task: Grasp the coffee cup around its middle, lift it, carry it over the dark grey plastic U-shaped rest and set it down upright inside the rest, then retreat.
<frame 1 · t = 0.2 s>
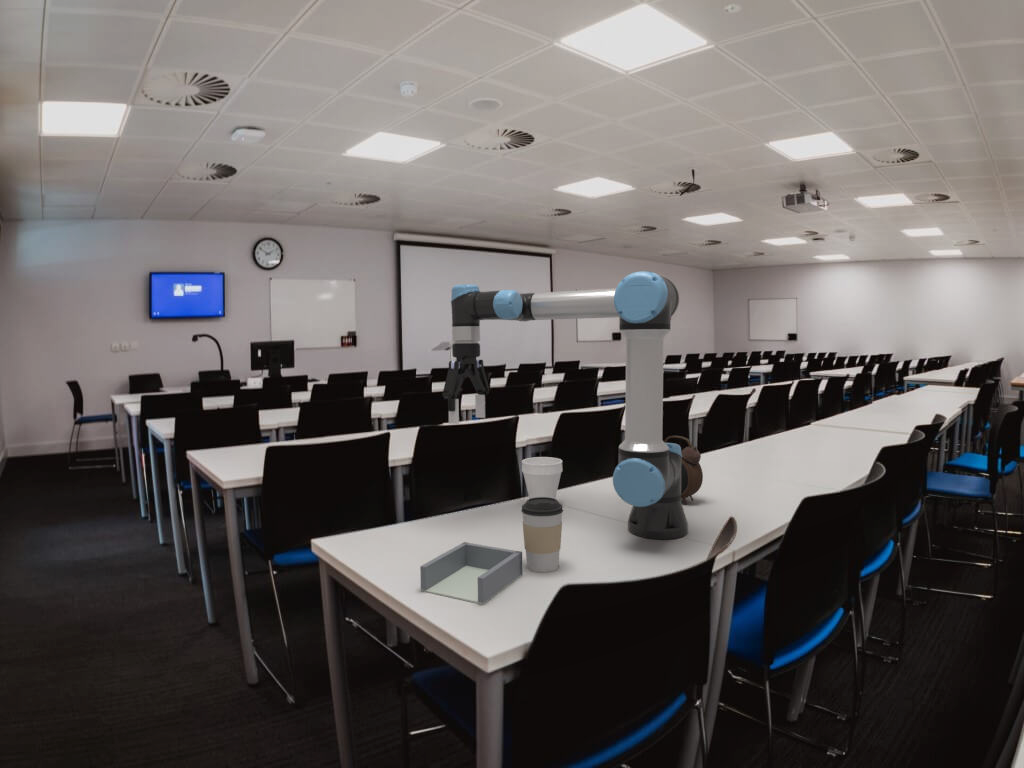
hand: (467, 420, 166), 28 cm above the table, fingers open, 13 cm apart
u rest: (471, 583, 124), on the table
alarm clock: (676, 501, 186), on the table
cup: (542, 506, 183), on the table
coffee cup: (542, 567, 133), on the table
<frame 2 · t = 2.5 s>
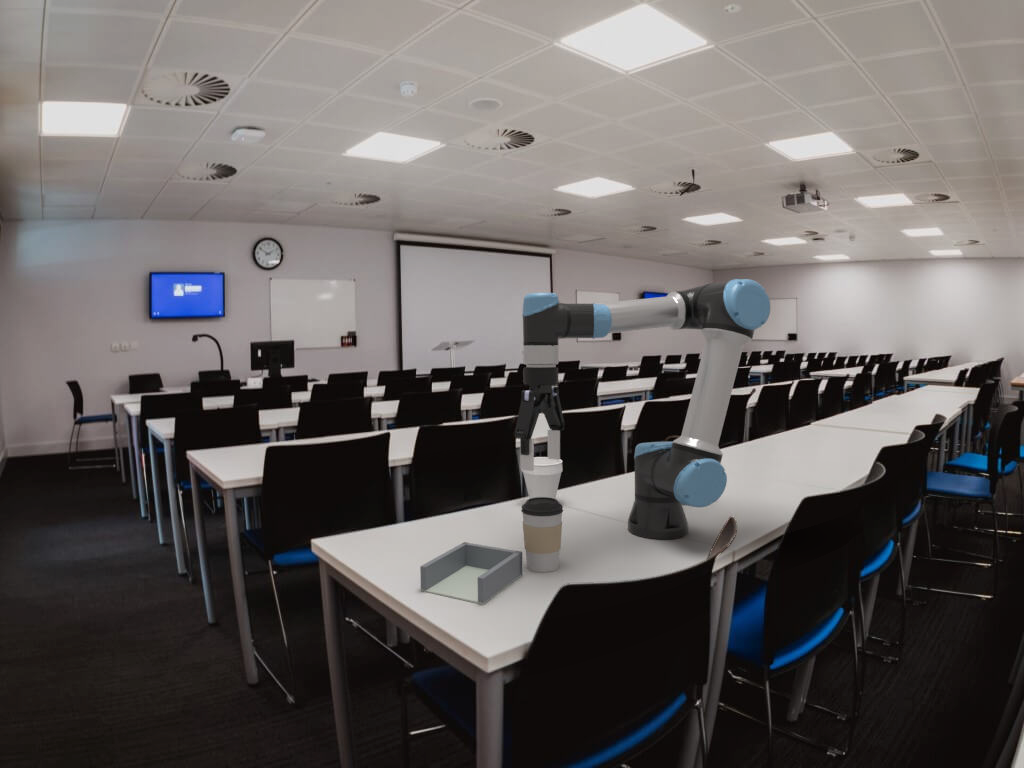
hand: (541, 464, 131), 23 cm above the table, fingers open, 13 cm apart
nothing on the table moved.
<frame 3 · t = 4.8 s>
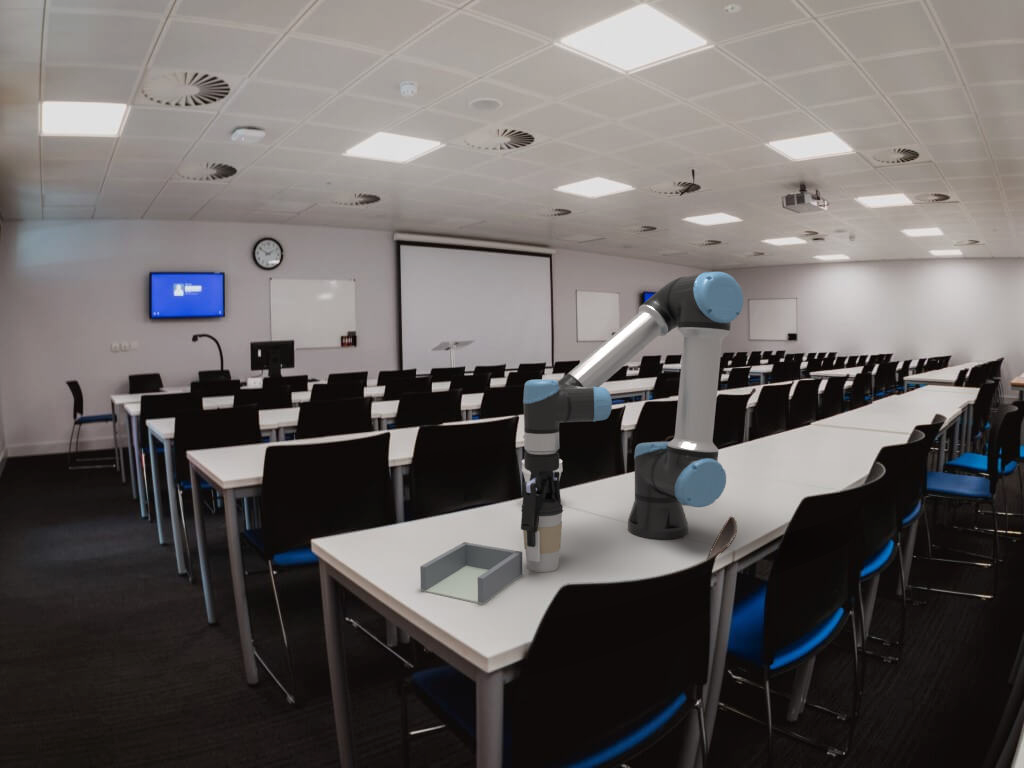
hand: (542, 553, 133), 3 cm above the table, fingers closed on coffee cup, 9 cm apart
coffee cup: (542, 567, 133), on the table, touching gripper
everything else where it was.
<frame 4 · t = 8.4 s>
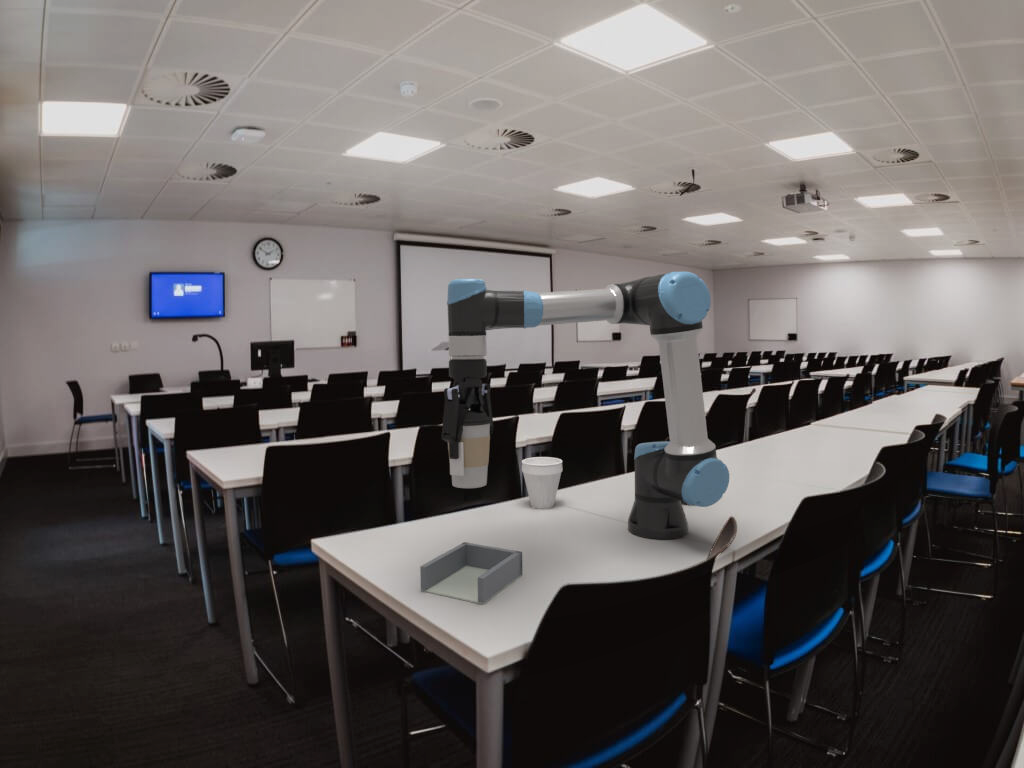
hand: (469, 470, 122), 23 cm above the table, fingers closed on coffee cup, 8 cm apart
coffee cup: (469, 485, 123), point 20 cm above the table, touching gripper
everything else where it was.
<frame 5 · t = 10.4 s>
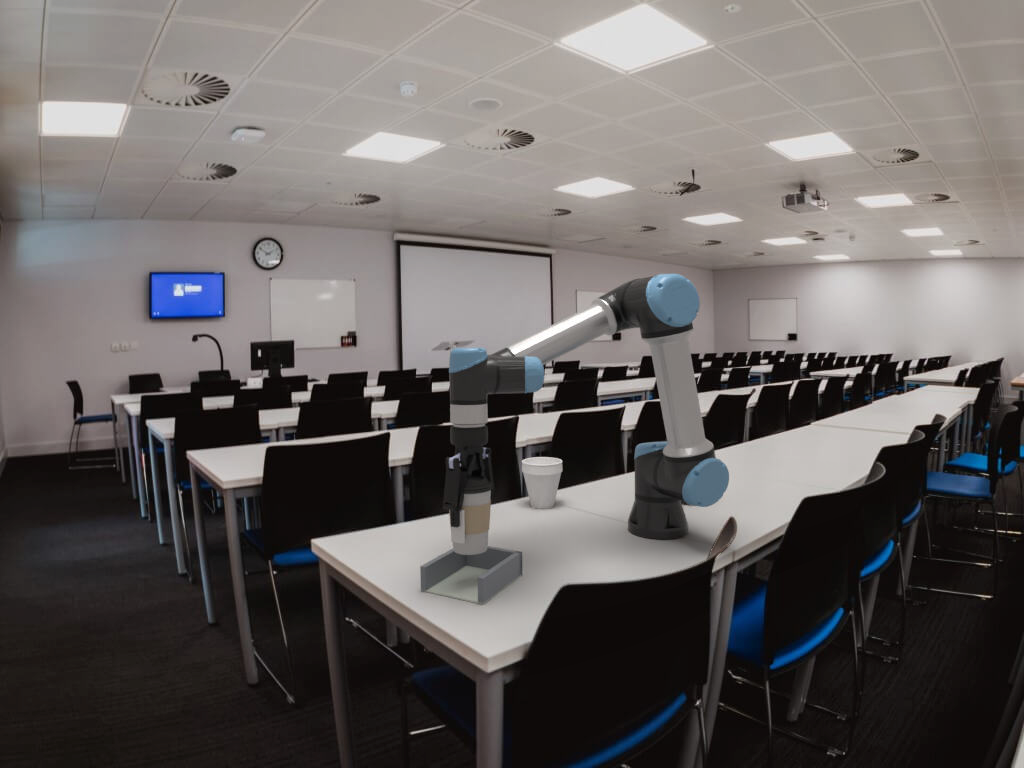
hand: (470, 535, 123), 10 cm above the table, fingers closed on coffee cup, 8 cm apart
coffee cup: (470, 550, 123), point 7 cm above the table, touching gripper
everything else where it was.
when the fingers open (4 cm above the table, at t = 12.2 s): coffee cup drops 1 cm, resting on u rest.
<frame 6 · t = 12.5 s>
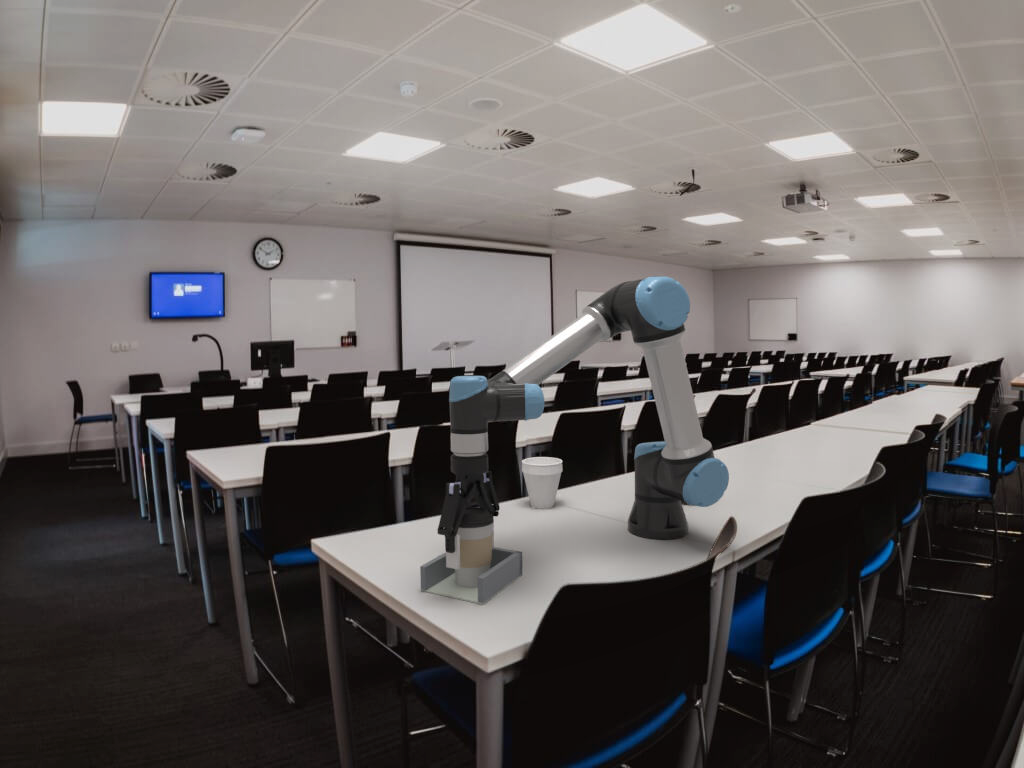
hand: (471, 556, 124), 6 cm above the table, fingers open, 13 cm apart
coffee cup: (472, 582, 124), resting on u rest
everything else where it was.
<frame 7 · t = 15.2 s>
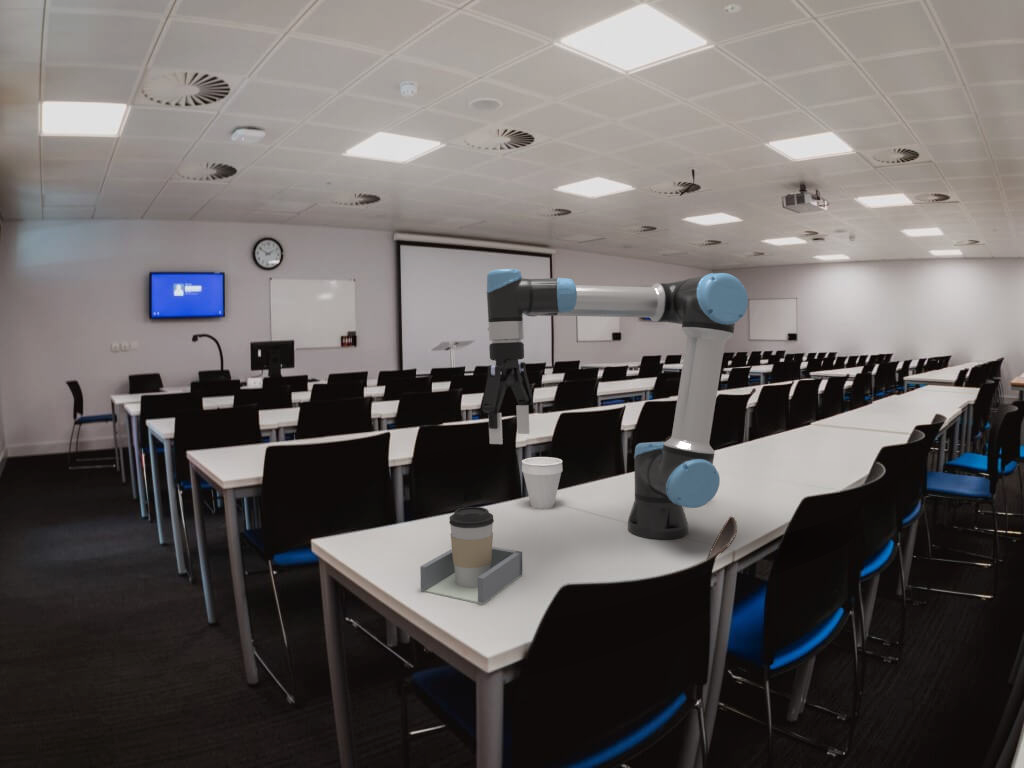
hand: (510, 438, 134), 28 cm above the table, fingers open, 13 cm apart
nothing on the table moved.
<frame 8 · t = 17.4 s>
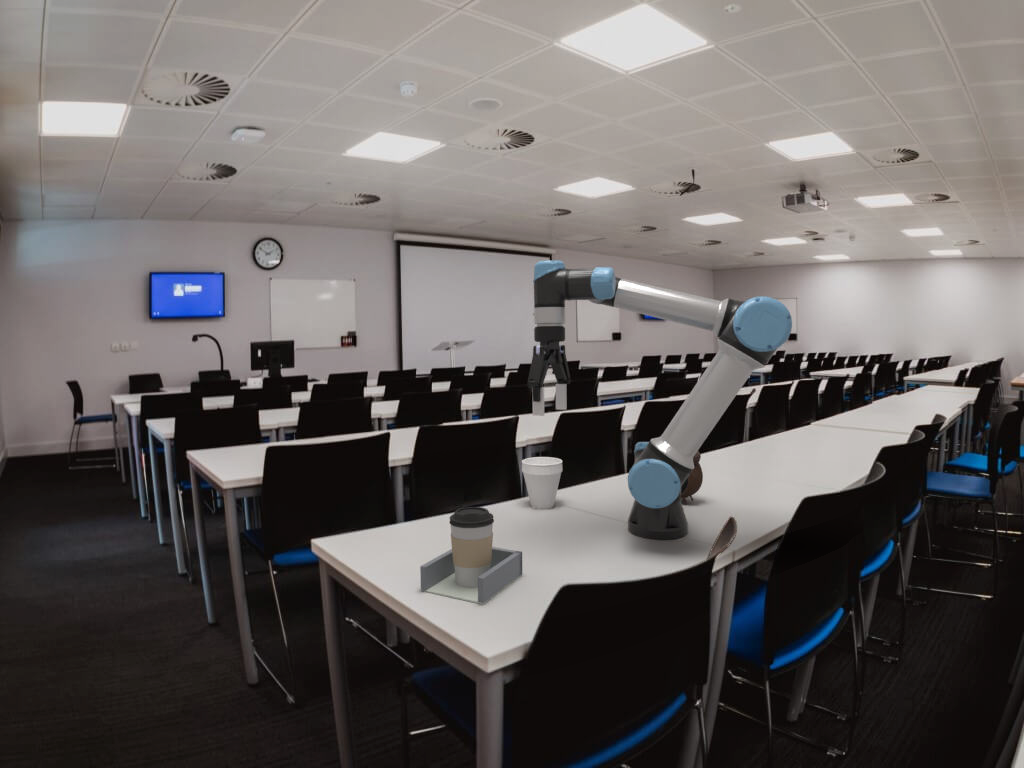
hand: (550, 412, 150), 32 cm above the table, fingers open, 13 cm apart
nothing on the table moved.
at the end: coffee cup inside the target area on the u rest (0.5 cm from its centre), point 0.1 cm above the u rest's base; coffee cup tilted 0°; the gripper is holding nothing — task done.
